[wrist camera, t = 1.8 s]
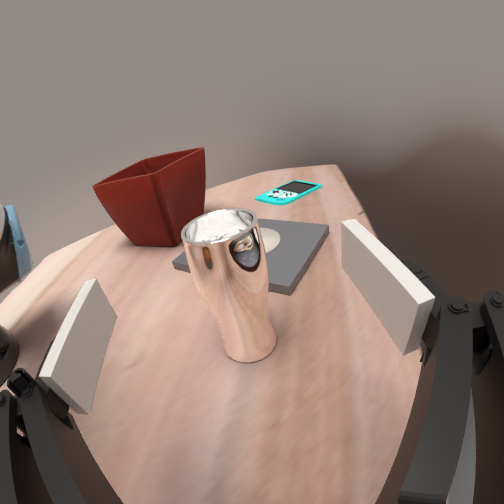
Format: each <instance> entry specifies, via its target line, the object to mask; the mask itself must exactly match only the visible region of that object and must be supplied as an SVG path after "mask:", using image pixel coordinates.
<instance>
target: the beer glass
mask: <svg viewBox="0 0 504 504" xmlns="http://www.w3.org/2000/svg"><path fill="white" fill-rule="evenodd" d="M181 238H182V240H183V244H184V249H185V253H186V257H187V261H188V265H189V268H190V271H191V275H192V278H193V280H194V283H195V285H196V287H197V290H198V292H199V294H200V295H201V297H202V299H203V301H204V303H205V304H206V306H207V307H208V309H209V311H210V312H211V314H212V315H213V317H214V318H215V320H216V321H217V323H218V325H219V327H220V329H221V332H222V336H223V345H224V349H225V352H226V353H227V355H228V356H229V357H230V358H232V359H233V360H236V361H238V362H244V363H249V362H255V361H258V360H261V359H263V358H265V357H266V356H268V355H269V354H270V353H271V352H272V350H273V349H274V347H275V345H276V334H275V331H274V329H273V327H272V325H271V323H270V320H269V315H268V298H269V270H268V262H267V256H266V251H265V246H264V242H263V239H262V235H261V231H260V228H259V224H258V220H257V215H256V214H255V213H254V212H253V211H251V210H248V209H244V208H227V209H220V210H216V211H212V212H209V213H206V214H203V215H201V216H199V217H197V218H195V219H193V220H192V221H190V222H189V223H188V224H187V225H186V226H185V227H184V228H183V229H182V231H181Z"/></svg>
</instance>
